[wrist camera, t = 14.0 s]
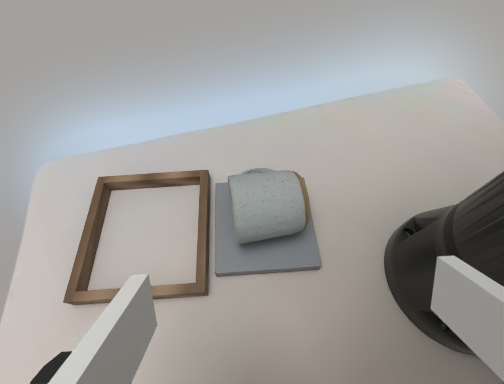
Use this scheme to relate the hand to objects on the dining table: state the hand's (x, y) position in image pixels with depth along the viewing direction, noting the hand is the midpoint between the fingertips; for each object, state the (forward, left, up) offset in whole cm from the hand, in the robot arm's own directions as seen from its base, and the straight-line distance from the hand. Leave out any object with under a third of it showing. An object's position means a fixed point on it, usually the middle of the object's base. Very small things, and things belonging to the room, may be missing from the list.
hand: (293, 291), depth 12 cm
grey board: (0, -11, -19) cm, 22 cm away
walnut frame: (+15, -11, -19) cm, 26 cm away
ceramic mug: (0, -13, -17) cm, 22 cm away
